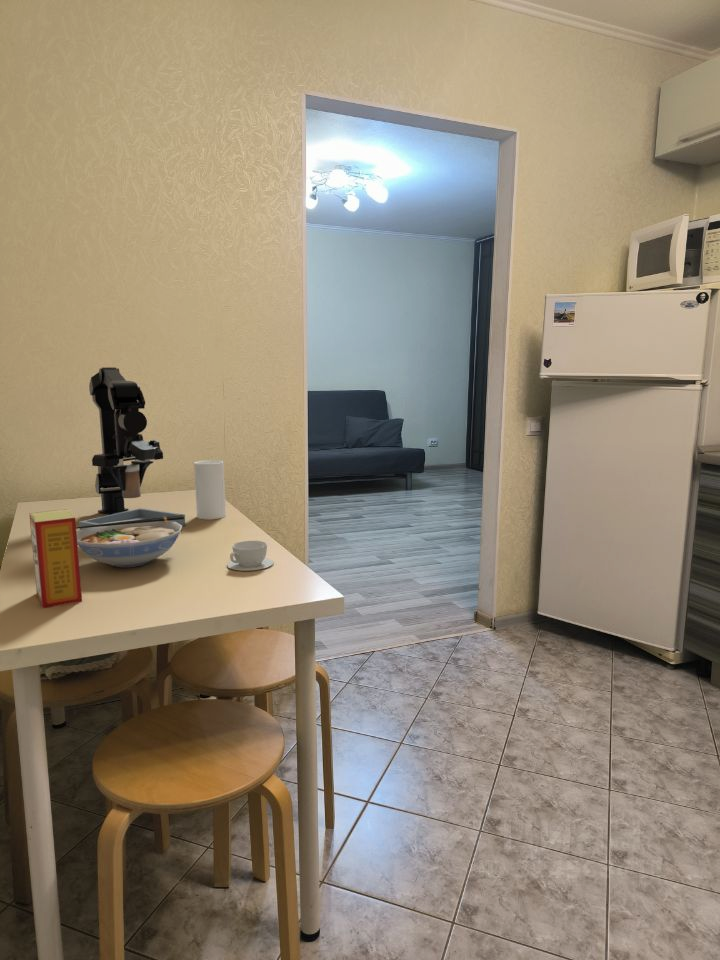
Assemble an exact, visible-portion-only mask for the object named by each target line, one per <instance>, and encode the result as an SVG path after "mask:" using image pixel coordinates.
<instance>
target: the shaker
mask: <svg viewBox="0 0 720 960" xmlns="http://www.w3.org/2000/svg"><path fill="white" fill-rule="evenodd" d="M123 464H124V463H123ZM124 465H126V466H127V468H126V470H125V491H122V495H123V498H124V499H136V498H140V497H141V495H142V494H141V493H142V492H141V491H142V490H141V487H140V476H139V470H140V469H139V464H132V463H127V464H126V463H125V464H124Z"/></svg>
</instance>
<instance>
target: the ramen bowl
mask: <svg viewBox="0 0 720 960" xmlns="http://www.w3.org/2000/svg"><path fill="white" fill-rule="evenodd" d="M180 519H184V516H183V515H175V516H167V517H158V518H150V519H141V520H124V521H116V522H108V523H103V524H98V525H90V526H82V527H79V526H76V534H77V546H78V548H80V549H81V550H82V552H84V554H86V555H87V556H88V557H89V558H90V559H91V560H94V561H96V562H99V563H103V564H107V565H112V566H113V567H115V568H116V567H117V568H135V567H140V566H143V565H145V564H148V563H149V562H150V561H153V560H154V559H157V558H159V557H160V556H162V555H164V554H166V553H167V552H168V551H170V549H172V547H173V546H174V544H175V543H176V541H177V539H178V538H179V536H180V532H181V531H182V528H183V526H182V525H180V524H178V523H177V522H172V521H169V520H180ZM80 528H84V529H81V530H80ZM77 529H78V530H77Z"/></svg>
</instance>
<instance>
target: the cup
mask: <svg viewBox="0 0 720 960" xmlns="http://www.w3.org/2000/svg"><path fill="white" fill-rule="evenodd" d="M193 465H194V485H195V504H196V518H197V519H200V520H218V519H221V518H225V517H226V516H227V512H226V511H227V510H226V507H227V506H226V489H225V488H226V487H225V467H224V466H225V465H224V461H223V460H219V459H206V460H205V459H204V460H198V461H194V463H193Z"/></svg>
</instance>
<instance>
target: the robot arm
mask: <svg viewBox="0 0 720 960" xmlns="http://www.w3.org/2000/svg"><path fill="white" fill-rule="evenodd" d="M88 384H89V394H90V396H91V398H92V402H93V403H94V405H95V406H96V407H97V409H98V412H99V413H98V414H99V425H100V426H99V427H100V437H101V438H100V439H101V450H102V453H99V454H94V455H93V457H91V458H92V459H91V464H92V465H91V466H93V467H97V473H96V476H95V484H94V487H95V492H96V493H97V494H98V495H100V497H101V509H99V510H97V512H98V513H101V514H106V515H111V514H116V513H121V512H125V511H129V508H125V498H123V495H122V491H125V470H126V468H127V466H126V465H124V462H128V461H131V463H130V464H139V469H140V470H139V476H140V488H141V487H142V483H143V480H144V477H145V473H146V471H147V469H148V468H149V466H150V465H151V464H154V461H156V460H158V461H159V460H163V459H164V453H163V451H162V449H161V445H160V441H158V440H157V439H151V440H150V441H144V436H143V433H142V432H144V430H145V429H146V428H147V425H148V419H147V418H146V417H147V416H146V415H145V414H144V413H143V412H141V411H139V410H140V409H141V410H142V409H143V410H144V409H146V408H145V406H146V400H145V396H144V394H143V391H142V390H141V387H140V386H138V383H137V382H135V381H132V380H127V379H125V377H124V376H123V375H122V374H121V372H120V369H119V368H117V367H114V366H112V367H106V366H105V367H101V368H99V369H98V372H97V373H96V374H94V375H92V376H91V377H90V380H89V383H88ZM141 433H142V434H141ZM152 460H153V461H152Z"/></svg>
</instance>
